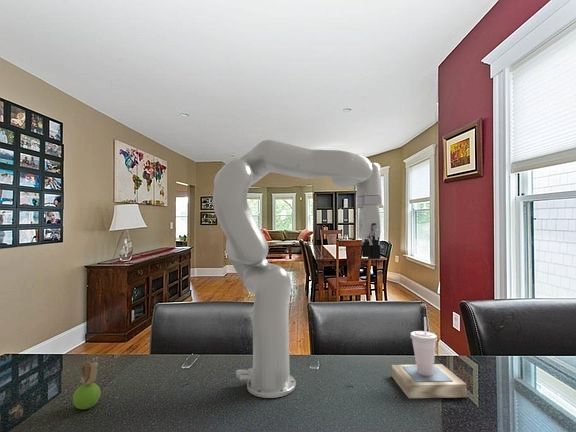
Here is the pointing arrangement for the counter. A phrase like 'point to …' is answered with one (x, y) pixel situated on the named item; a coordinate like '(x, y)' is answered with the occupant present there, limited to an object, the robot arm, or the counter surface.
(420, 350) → the smoothie
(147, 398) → the counter surface
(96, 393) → the snail figurine
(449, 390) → the plinth
